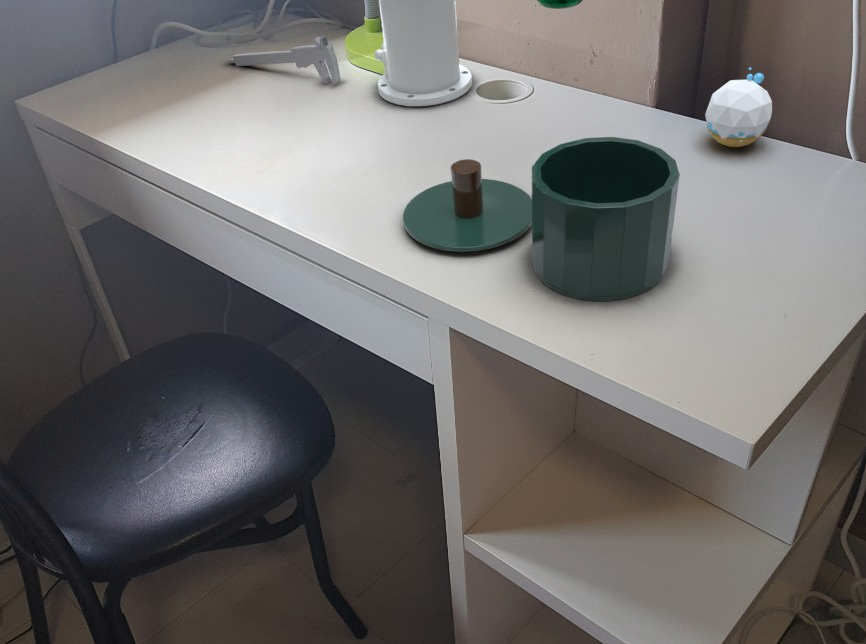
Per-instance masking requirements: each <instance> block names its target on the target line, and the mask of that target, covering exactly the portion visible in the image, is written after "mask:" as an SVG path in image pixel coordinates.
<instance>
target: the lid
mask: <svg viewBox="0 0 866 644" xmlns="http://www.w3.org/2000/svg"><path fill="white" fill-rule="evenodd" d="M450 175H451V176H450V177H451V180H449V181H446V182H442V183H439V184H436V185H433V186H431V187H428V188H426V189H424V190H423V191H421V192H419V193H418V194H416V195H415V196H414V197H413V198H411V200H410V201H409V202H408V203H407V204H406V206H405V208H404V211H403V214H402V221H403V226H404V228H405V231H406V232H407V233H408V235H409V236H410V237H412V239H414V240H415V241H416V242H418V243H421V244H422V245H424V246H426V247H429V248H432V249H437V250H439V251H440V250H441V251H447V252H456V253H457V252H459V253H462V252H463V253H464V252H466V253H467V252H478V251H484V250H485V251H486V250H490V249H495V248H497V247H500V246H504V245H506V244H509V243H511V242H513V241H515V240H516V239H518V238H520V237H521V236H522V235H524V233H526V232H527V231H528V230H529V229H530V228H531V227H532V196H531V195H529V194H528V193H527V192H526V191H525V190H523V189H522V188H520V187H518V186H516V185H513V184H511V183H509V182H505V181H503V180H496V179H490V178H483V175H482V164H481V163H480V162H479V160H475V159H472V158H471V159H469V158H464V159H460V160H457V161H455V162H453V163H452V164H451V166H450Z"/></svg>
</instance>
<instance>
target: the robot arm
mask: <svg viewBox="0 0 866 644" xmlns="http://www.w3.org/2000/svg"><path fill="white" fill-rule="evenodd" d="M378 4H379V12H380V20H381V28H382V36H383V42H382V44H381V49H376V50H375V52H374V54H373V55H374V56H373V57H374V60H376V61H379V62H381V63H383V69H384V73H383V74H382V75H381V76H380V77H379V79H378V81H377V90H378V94H379V96H380V97H381V98H382V99H383V100H385V101H386V102H389V103H391V104H395V105H398V106H405V107H428V106H435V105H440V104H445V103H448V102H451V101H454V100H457V99H458V98H460V97H461V96H464V95H465V94H467V92H468V91H469V90H470V89H471V88H472V86H473V75H472V73H471V71H470V69H468V68H467V67H466V66H463V65H462V64H460V53H459V37H458V21H457V20H458V19H457V6H456V0H378Z"/></svg>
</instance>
